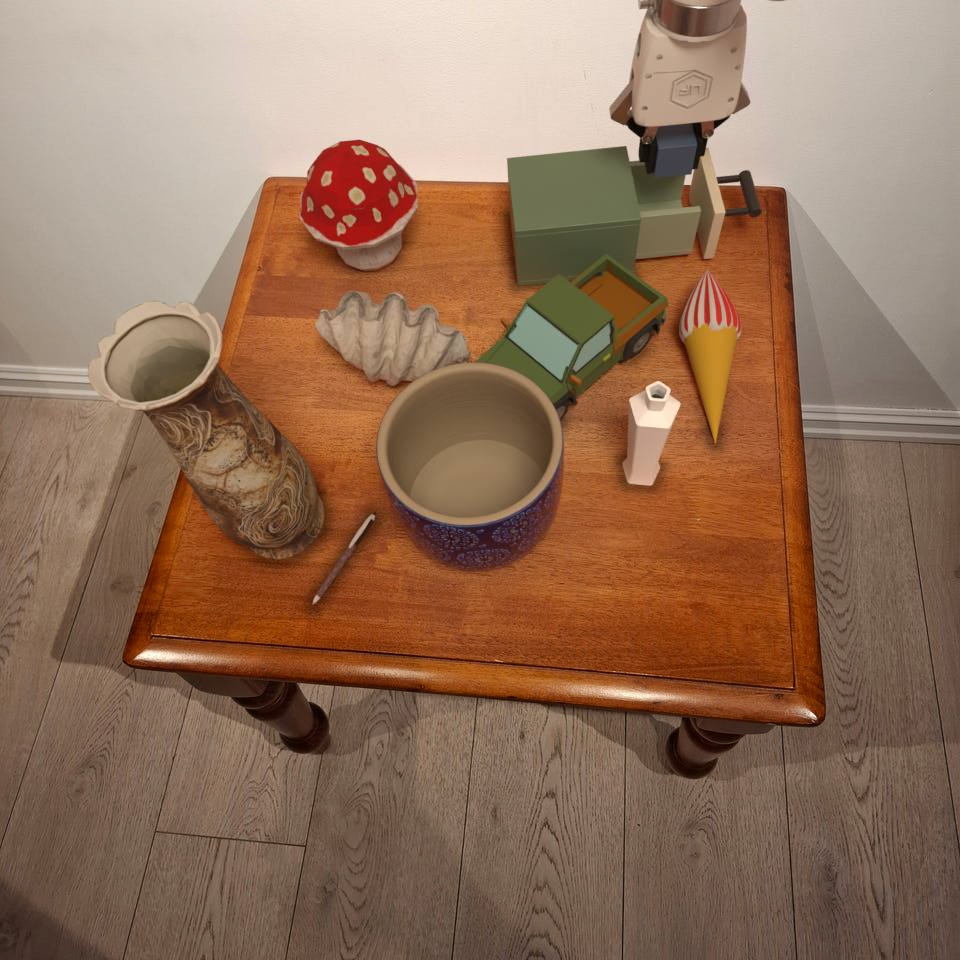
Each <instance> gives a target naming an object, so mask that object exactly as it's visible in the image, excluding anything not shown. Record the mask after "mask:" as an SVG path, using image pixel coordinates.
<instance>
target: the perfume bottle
mask: <svg viewBox="0 0 960 960" xmlns="http://www.w3.org/2000/svg"><path fill="white" fill-rule="evenodd" d="M671 391H672V389H671V388H670V387H669V386H667V385H666V384H665V383H663V382H662V381H660V380H657V381H654V382H653V383H651V384H649V385H647V386H645V390H643V391H641V392H639V393H638V394H635V395H633V396H631V397H630V398H629V400H628V423H627V424H628V425H627V426H628V427H627V450H626V451H627V454H626V458H625V459H624V460H623V461H622V464H621V465H622V468H623V472H624V475H625V480H626V483H628V484H630V485H639V486H649V487H650V486H653V485H654V483H655V481H656V478H657V476H658V474H659V472H660V469H661V465H660V462H659V461H660V458H661V455H662V454H663V450H664V448H665V446H666V444H667V441H668V437H669V435H670V433H671V430H672V427H673V426H674V423H675V420H676V417H677V416H678V413H679V409H680V407H681V402H680V401H679V400H678V399H676V398H675V397H674V396H672V395H671Z"/></svg>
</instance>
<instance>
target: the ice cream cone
mask: <svg viewBox="0 0 960 960" xmlns="http://www.w3.org/2000/svg"><path fill="white" fill-rule="evenodd" d="M742 327H743V326H742V320H741V317H740V314H739V312H738V309H737V308H736V306H735V304H734V302H733V300H732V299H731V298H730V296H729V294H728V293H727V292H726V290H725V289H724V287H723V286H722V284H721V283H720V282H719V280H718V279H717V278H716V277H715V276H714V275H713V274H712V272H710V270H709V269H708V268H706V270H705V271H704V273H703V274H702V276H700V278H699V280H698V281H697V283H696V284H695V286H694V288H693V290H692V292H691V294H690V296H689V298H688V300H687V301H686V304H685V307H684V309H683V312H682V314H681V317H680V321H679V325H678V335H679V338H680V340H681V342H682V343H683V345H685V349H686V352H687V355H688V358H689V362H690V365H691V366H690V367H691V369H692V372H693V375H694V376H693V377H694V378H695V382H696V386H697V388H698V392H699V395H700V399H701V403H702V405H703V408H704V412H705V415H706V419H707V422H708V425H709V429H710V431H711V435H712V438H713V441H714V445H716V444H717V440H718V435H719V434H718V433H719V429H720V425H721V424H720V423H721V419H722V414H723V409H724V405H725V399H726V394H727V389H728V384H729V379H730V374H731V368H732V364H733V359H734V355H735V349H736V344H737V340H738V339H739V338H740V336H741V333H742Z"/></svg>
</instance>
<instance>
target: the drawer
mask: <svg viewBox="0 0 960 960" xmlns="http://www.w3.org/2000/svg"><path fill="white" fill-rule="evenodd" d="M629 161H630V160H629ZM630 166H631V171H632V176H633V181H634V186H635V191H636V196H637V201H638V205H639V210H640V215H641V224H640V231H639V238H638V245H637V252H636V259H635V260H640V259H641V260H643V259H652V258H662V257H673V256H682V255H691V254H693V250H694V243H695V240H696V236H697V238H698V241H699V245H700V249H701V250H700V251H701V254H702V258H703V260H706V259H707V260H708V259H715V254H716V251H717V246H718V243H719V239H720V236H721V231H722V229H723V228H722V227H723V223H724V220H725V218H726V217H727V218H728V217H736V216H746V215H748V216H749V217H750V218H751V219H754V218H758V217H760V216H761V214H762V212H763V211H762V207H761V203H760V200H759V196H758V193H757V189H756V187H755V183H754V180H753V176H752V172H751V171H750V170H749V169H745V170H744V169H743V170H742V171H740V172H739V173H738V174H734V175H733V174H732V175H723V176H717V174H716V171H715V166H714V163H713V159H712V155H711V152H710V148H709V147H706V150H705V155H704V156H701V157H700V160H699V164H698V169H693V171H692V172H693V173H692V178H691V182H690V187H689V192H688V200H689V203H690V206H686V207H683V204H682V196H683V190H684V185H685V181H686V176H687V175H680V176H670V177H660V178H654V175H653V172H652V174H647V172H646V167H645V163H644V162H641V163H640V161H639V160H631V161H630ZM733 183H734V184H735V183H739V185H740V188H741V192H742V195H743V198H744V203H745V206H746V207H745V206H744V207H734V208H725V204H724V201H723V197H722V193H721V190H720V186H719V185H722V184H733ZM696 234H697V235H696Z"/></svg>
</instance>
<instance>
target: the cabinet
mask: <svg viewBox="0 0 960 960" xmlns="http://www.w3.org/2000/svg"><path fill="white" fill-rule="evenodd" d="M506 167H507V188H508V202H509V219H510V228H511V238H512V247H513V256H514V266H515V267H514V268H515V274H516V283H517V284H516V286H517V287H523V286H524V287H525V286H533V285H534V286H535V285H543V284H544V285H546V284H547V283H548V282H550V281H551V280H552V279H553V278H555V277H556V276H557V275H558V274H560V275H561V276H563V277H564V278H565V279H566V280H568V281H569V282H571V281H573V280H574V279H575V278H576V277H578V276H579V275H580V274H581V273H583V272H584V271H585V270H586V269H588V268H589V267H590V266H591V265H592V264H594V263H595V262H596V261H597V260H599V259H600V258H601V257H602V256H604V255H605V254H607V255H609V256H610V257H612V258H613V259H614V260H616V261H617V262H619V263H620V264H621V265H623V266H624V267H625V268H627V269H628V270H630V271H631V272H632V273H634V274H635V265H636V260H637V259H636V252H637V245H638V238H639V231H640V224H641V215H640V210H639V205H638V201H637V196H636V191H635V186H634V181H633V176H632V171H631V166H630V156H629V152H628V147H627V145H623V146H622V145H621V146H611V147H603V148H602V147H601V148H593V149H592V148H591V149H583V150H573V151H563V152H553V153H552V152H551V153H544V154H534V155H523V156H522V155H521V156H515V157H507V158H506Z"/></svg>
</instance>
